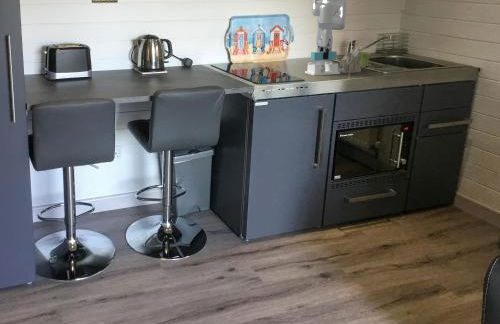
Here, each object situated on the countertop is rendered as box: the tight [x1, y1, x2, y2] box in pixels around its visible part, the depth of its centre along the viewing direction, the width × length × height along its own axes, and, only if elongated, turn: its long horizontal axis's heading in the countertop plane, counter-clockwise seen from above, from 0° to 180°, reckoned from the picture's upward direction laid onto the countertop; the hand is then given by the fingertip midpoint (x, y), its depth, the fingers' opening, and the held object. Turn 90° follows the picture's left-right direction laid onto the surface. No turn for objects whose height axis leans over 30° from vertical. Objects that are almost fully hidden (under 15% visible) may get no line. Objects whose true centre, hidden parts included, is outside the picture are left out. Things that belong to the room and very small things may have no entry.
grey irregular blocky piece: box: [338, 46, 362, 74], centre depth 348 cm, size 16×16×15 cm
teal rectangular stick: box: [310, 50, 337, 62], centre depth 335 cm, size 4×15×4 cm, turn 116°
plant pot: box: [360, 51, 372, 68], centre depth 364 cm, size 9×9×9 cm
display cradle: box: [304, 60, 341, 76], centre depth 338 cm, size 10×18×6 cm, turn 116°
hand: (323, 58), depth 335 cm, fingers closed on teal rectangular stick, 4 cm apart
